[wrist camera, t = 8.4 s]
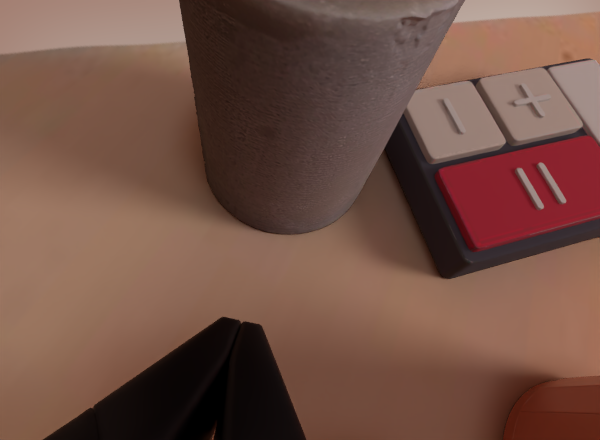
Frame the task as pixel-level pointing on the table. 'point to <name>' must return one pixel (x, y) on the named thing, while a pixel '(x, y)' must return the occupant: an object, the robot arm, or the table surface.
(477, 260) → the calculator
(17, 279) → the table surface
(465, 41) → the table surface
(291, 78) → the pillar candle
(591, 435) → the pen pot
